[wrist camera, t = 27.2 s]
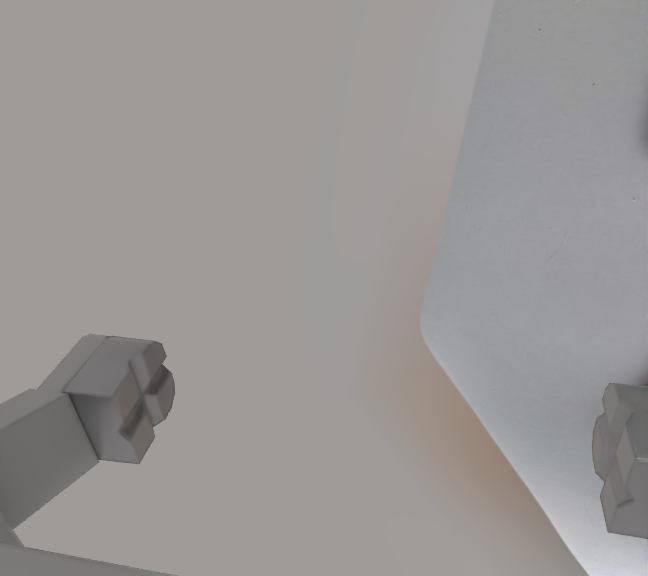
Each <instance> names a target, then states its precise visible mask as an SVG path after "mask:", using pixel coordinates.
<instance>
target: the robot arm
mask: <svg viewBox="0 0 648 576" xmlns="http://www.w3.org/2000/svg"><path fill="white" fill-rule="evenodd" d="M165 358H166V354H165V351H164V348H163V345H162V344H161V343H159V342H156V341H151V340H142V339H134V338H125V337H116V336H103V335H95V334H89V335H86V336H84V337H82V338H81V339H80V340H79V341H78V343H77V344H76V345H75V346H74V347H73V348H72V350H71V351H70V352H69V353H68V354H67V355H66V357H65V358H64V359H63V360H62V361H61V362H60V363H59V364H58V366H57V367H56V368H55V369H54V370H53V371H52V373H51V374H50V375H49V376H48V377H47V379H46V380H45V381H44V382H43V383H42V384H41V385H40V386H39V387H38V389H37V390H35V389H29V390H27V391H25V392H23V393H21V394H19V395H17V396H15V397H13V398H11V399H9V400H7V401H5V402H3V403H1V404H0V576H176V575H171V574H166V573H160V572H155V571H150V570H144V569H139V568H134V567H129V566H123V565H118V564H113V563H107V562H102V561H97V560H91V559H86V558H81V557H75V556H70V555H65V554H60V553H54V552H49V551H44V550H38V549H33V548H27V547H24V545H23V544H22V542H21V541H20V539H19V538H18V536H17V535H16V534H15V532H14V531H13V529H14V528H15V527H17V526H18V525H19V524H20V523H22V522H23V521H25V520H26V519H27V518H28V517H29V516H31V515H32V514H33V513H35V512H36V511H37V510H39V509H40V508H41V507H42V506H44V505H45V504H46V503H48V502H49V501H50V500H51V499H53V498H54V497H55V496H57V495H58V494H59V493H60V492H62V491H63V490H64V489H66V488H67V487H68V486H69V485H71V484H72V483H73V482H75V481H76V480H77V479H78V478H80V477H81V476H82V475H84V474H85V473H86V472H87V471H89V470H90V469H91V468H93V467H94V466H95V465H96V464H98V463H99V460H106V461H115V462H123V463H133V464H140V462H141V460H142V459H143V457H144V455H145V453H146V452H147V450H148V448H149V447H150V445H151V443H152V442H153V440H154V438H155V434H154V430H153V427H154V426H156V425H157V424H159V423H160V422H162V421H163V420H165V419H166V417H167V415H168V413H169V412H170V410H171V408H172V404H173V400H174V395H175V385H174V379H173V376H172V373H171V372H170V371H169V370H168V369H167V368H166V367H165V366H164V365H163V364H162V363H163V362H164V360H165ZM602 401H603V405H604V409H605V413H603V414H602V415H600V416H599V417H597V419H596V423H595V427H594V431H593V442H592V453H593V462H594V468H595V473H596V474H597V475H598V476H599V477H600V478H601V479H602V480H603V481H604V486H603V489H602V492H601V495H600V498H601V503H602V507H603V512H604V517H605V522H606V526H607V531H608V532H609V533H615V534H621V535H627V536H633V537H639V538H645V539H648V386H641V385H629V384H617V383H609V384H608V386H607V387H606V389H605V392H604V395H603V399H602Z"/></svg>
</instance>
